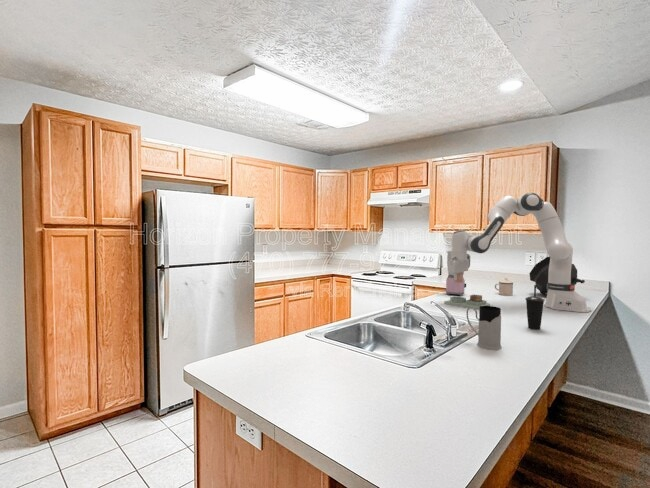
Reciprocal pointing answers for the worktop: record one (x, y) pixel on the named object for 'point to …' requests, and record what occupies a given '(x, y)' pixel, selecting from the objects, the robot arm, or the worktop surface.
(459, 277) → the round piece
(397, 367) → the worktop surface
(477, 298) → the square piece
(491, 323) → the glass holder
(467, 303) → the shape board
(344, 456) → the worktop surface
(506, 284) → the teacup with lid
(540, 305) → the drinking cup
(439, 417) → the worktop surface
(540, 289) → the wok
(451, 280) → the blender
